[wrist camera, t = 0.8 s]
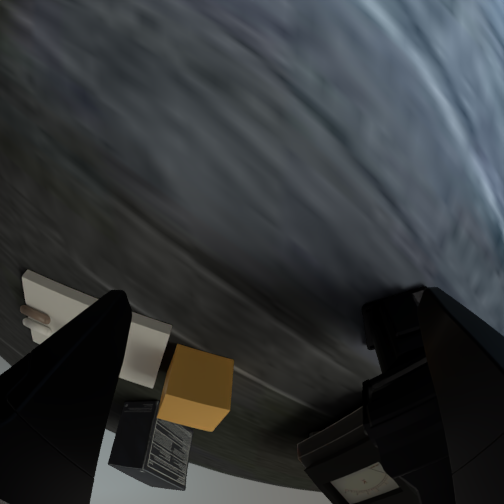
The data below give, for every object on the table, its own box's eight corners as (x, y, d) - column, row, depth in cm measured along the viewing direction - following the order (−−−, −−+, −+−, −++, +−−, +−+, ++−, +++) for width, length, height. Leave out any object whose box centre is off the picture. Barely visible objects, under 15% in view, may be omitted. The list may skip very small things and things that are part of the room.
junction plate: (172, 325, 29) (161, 365, 25) (154, 380, 35) (146, 413, 31) (23, 267, 26) (0, 297, 22) (34, 332, 31) (18, 360, 28)
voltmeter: (370, 388, 35) (397, 537, 18) (436, 404, 39) (464, 514, 23) (295, 435, 43) (299, 553, 26) (366, 446, 47) (378, 541, 31)
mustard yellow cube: (234, 359, 31) (230, 410, 26) (216, 386, 35) (211, 431, 30) (177, 343, 30) (165, 393, 25) (166, 372, 33) (156, 417, 28)
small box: (121, 400, 39) (104, 464, 30) (158, 398, 37) (143, 469, 29) (160, 432, 44) (149, 488, 35) (195, 431, 43) (187, 491, 34)
